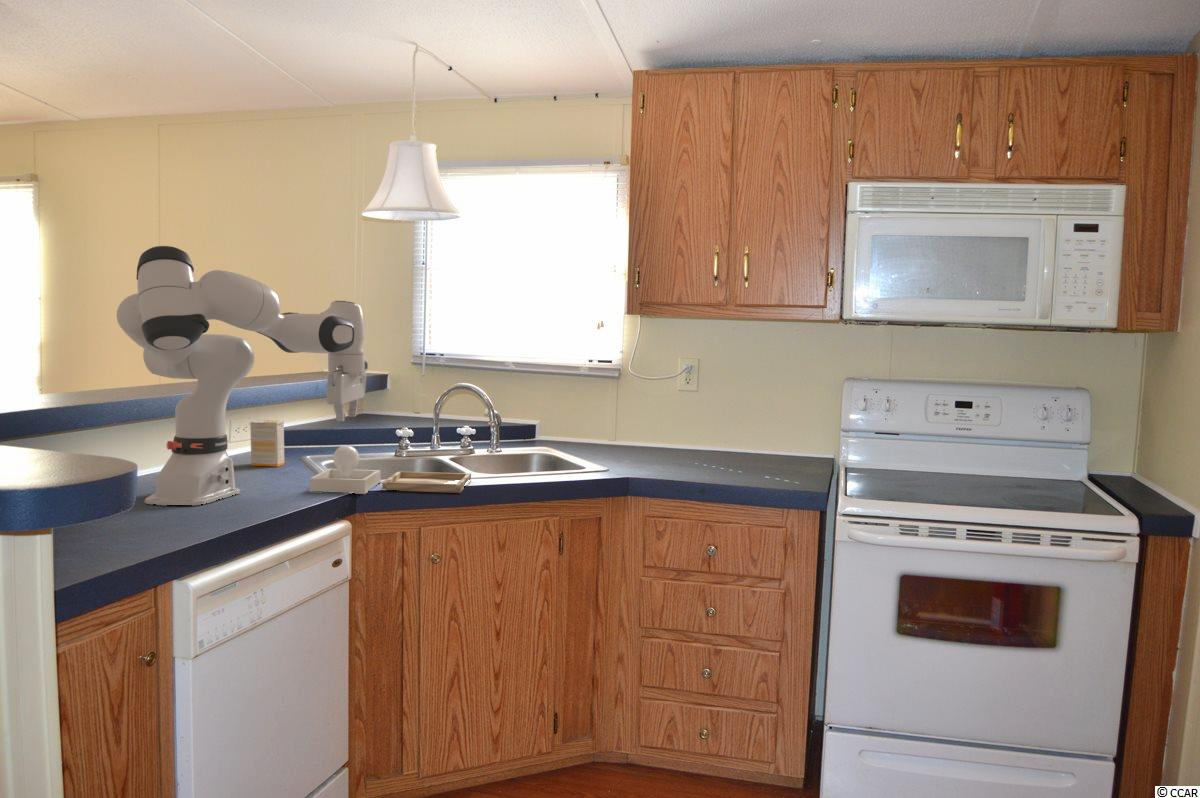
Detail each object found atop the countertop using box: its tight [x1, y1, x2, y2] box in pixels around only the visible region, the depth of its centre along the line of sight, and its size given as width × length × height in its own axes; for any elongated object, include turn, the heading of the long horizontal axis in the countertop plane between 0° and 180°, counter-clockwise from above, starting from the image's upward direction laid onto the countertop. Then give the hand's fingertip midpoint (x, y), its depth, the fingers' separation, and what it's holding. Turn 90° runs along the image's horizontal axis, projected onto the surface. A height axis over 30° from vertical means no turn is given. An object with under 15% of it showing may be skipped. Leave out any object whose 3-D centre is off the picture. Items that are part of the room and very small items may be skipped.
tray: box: [381, 470, 472, 494], centre depth 230 cm, size 16×20×2 cm
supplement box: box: [249, 419, 285, 468], centre depth 252 cm, size 8×5×13 cm, turn 84°
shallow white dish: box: [309, 468, 382, 495], centre depth 224 cm, size 14×14×4 cm
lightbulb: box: [332, 445, 360, 479], centre depth 224 cm, size 6×6×11 cm
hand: (346, 418), depth 223 cm, fingers open, 8 cm apart
